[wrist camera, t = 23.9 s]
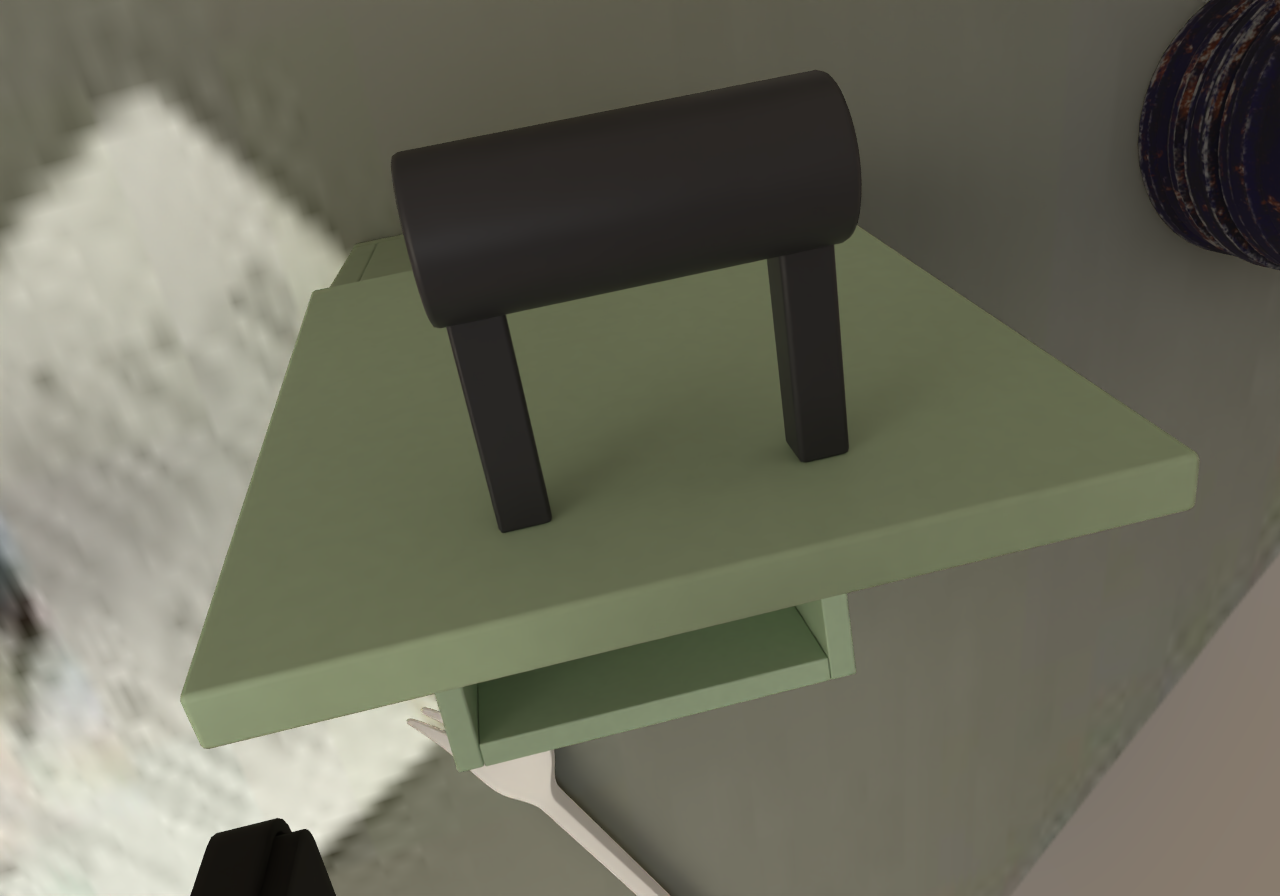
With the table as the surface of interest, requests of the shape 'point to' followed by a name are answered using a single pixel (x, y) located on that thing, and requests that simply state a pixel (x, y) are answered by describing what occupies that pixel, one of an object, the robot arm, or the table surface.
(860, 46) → the table surface
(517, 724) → the olive green lidded box
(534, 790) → the fork
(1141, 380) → the table surface
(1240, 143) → the dark blue disc stack
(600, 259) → the box lid
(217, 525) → the table surface
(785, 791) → the table surface
